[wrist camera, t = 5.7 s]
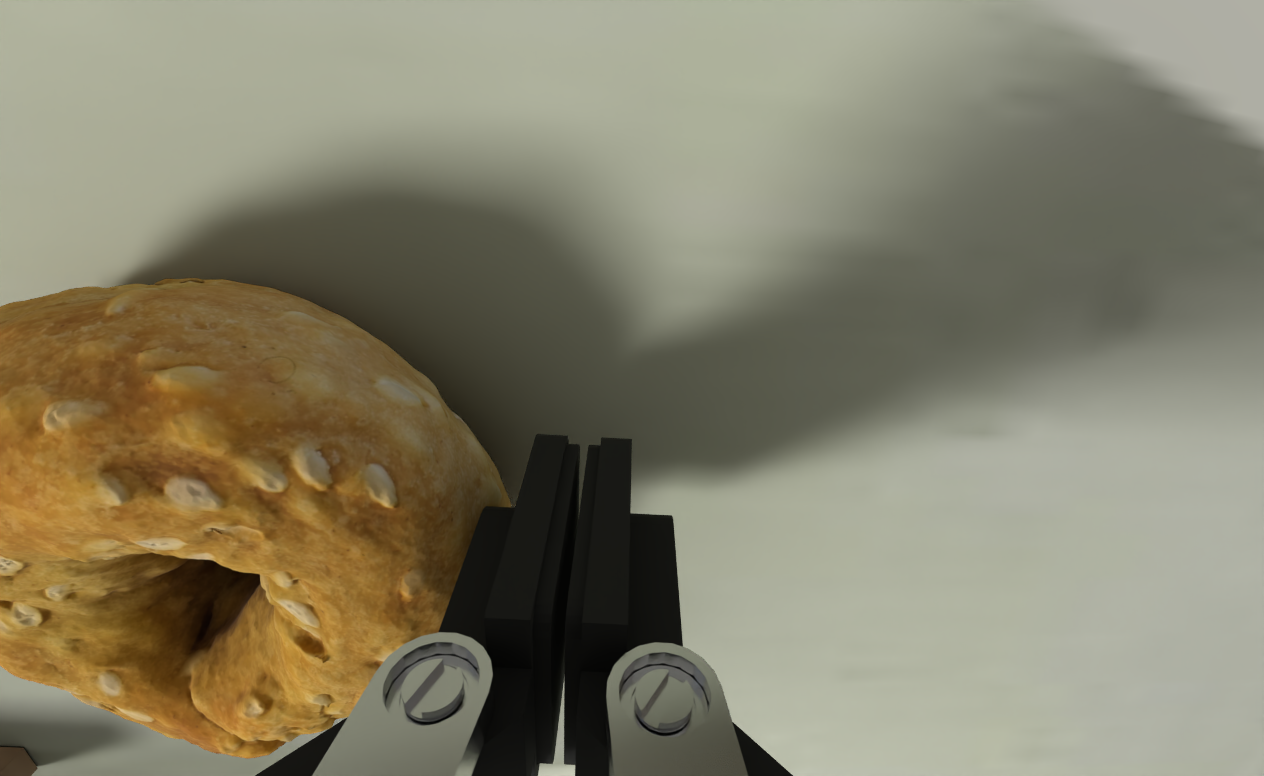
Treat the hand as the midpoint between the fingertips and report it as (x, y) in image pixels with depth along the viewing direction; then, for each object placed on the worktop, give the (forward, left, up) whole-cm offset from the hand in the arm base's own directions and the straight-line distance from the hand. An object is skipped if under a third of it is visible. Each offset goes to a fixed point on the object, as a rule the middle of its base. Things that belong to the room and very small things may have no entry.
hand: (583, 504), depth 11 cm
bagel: (+7, +1, -2) cm, 7 cm away
